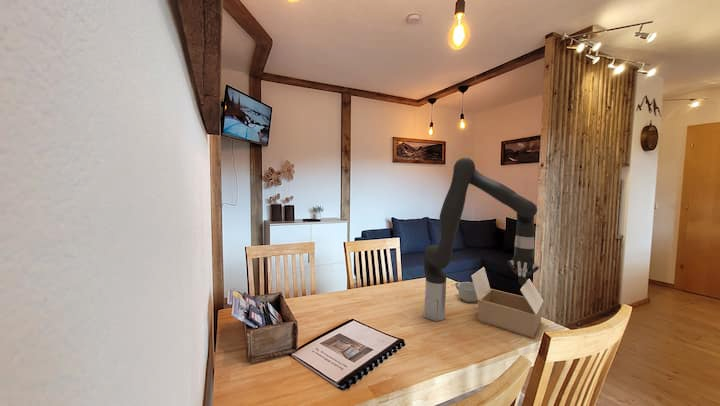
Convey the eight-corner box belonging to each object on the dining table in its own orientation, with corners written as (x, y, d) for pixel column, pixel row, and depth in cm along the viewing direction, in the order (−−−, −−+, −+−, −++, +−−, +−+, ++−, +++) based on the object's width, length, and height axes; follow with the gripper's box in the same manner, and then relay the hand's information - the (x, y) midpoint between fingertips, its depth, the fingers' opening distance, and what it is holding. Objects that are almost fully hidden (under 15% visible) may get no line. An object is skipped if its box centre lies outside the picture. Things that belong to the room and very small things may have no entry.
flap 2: (535, 314, 117) (536, 314, 117) (519, 289, 120) (521, 289, 120) (542, 301, 130) (543, 300, 130) (528, 278, 134) (529, 278, 133)
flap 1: (472, 275, 133) (471, 275, 133) (478, 299, 132) (477, 299, 132) (484, 267, 146) (483, 267, 146) (490, 288, 145) (489, 288, 145)
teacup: (484, 302, 152) (484, 287, 152) (467, 305, 148) (468, 290, 148) (465, 292, 165) (465, 278, 164) (449, 295, 161) (450, 281, 160)
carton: (533, 339, 118) (535, 315, 117) (477, 321, 132) (478, 299, 131) (540, 322, 132) (542, 301, 131) (489, 308, 146) (490, 288, 145)
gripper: (505, 245, 129) (503, 282, 131) (540, 250, 121) (537, 290, 122) (509, 242, 135) (507, 278, 137) (543, 246, 127) (540, 285, 128)
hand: (521, 284), depth 130 cm, fingers closed
